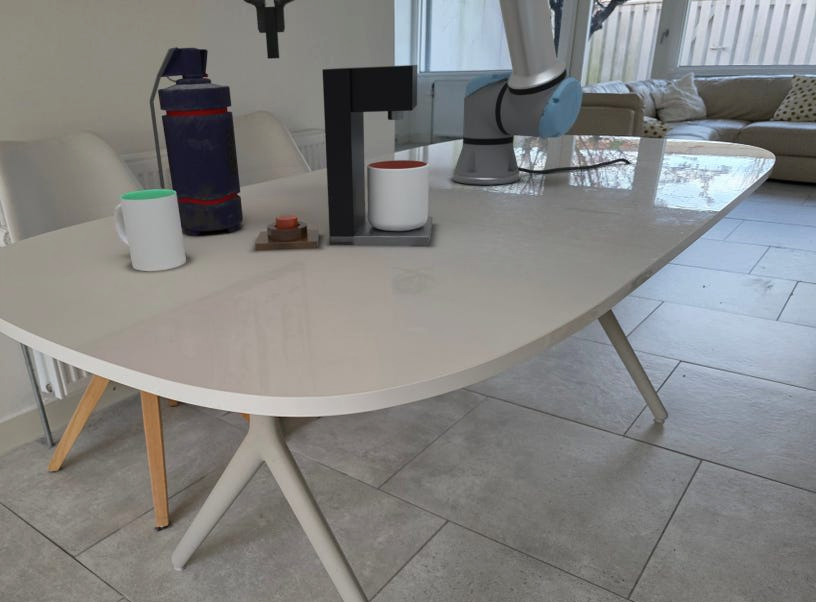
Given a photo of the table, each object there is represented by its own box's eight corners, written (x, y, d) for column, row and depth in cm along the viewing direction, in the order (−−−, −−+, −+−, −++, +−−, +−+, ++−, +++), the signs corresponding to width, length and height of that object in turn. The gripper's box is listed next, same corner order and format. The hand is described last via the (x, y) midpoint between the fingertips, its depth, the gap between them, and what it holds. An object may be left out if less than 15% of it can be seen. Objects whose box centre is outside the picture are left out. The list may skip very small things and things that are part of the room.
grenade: (238, 218, 121) (220, 47, 108) (248, 232, 111) (230, 44, 98) (166, 226, 118) (138, 50, 105) (169, 241, 107) (139, 47, 94)
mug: (102, 264, 96) (88, 196, 91) (140, 251, 102) (129, 186, 98) (160, 273, 90) (148, 201, 86) (197, 258, 97) (187, 190, 92)
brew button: (298, 224, 104) (298, 214, 103) (297, 230, 100) (296, 219, 100) (277, 225, 104) (276, 215, 103) (275, 230, 100) (274, 220, 100)
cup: (430, 232, 100) (432, 168, 96) (369, 234, 100) (368, 170, 96) (424, 218, 109) (425, 159, 105) (367, 220, 109) (366, 161, 105)
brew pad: (319, 236, 107) (318, 218, 105) (317, 248, 99) (316, 230, 98) (261, 238, 107) (259, 220, 106) (255, 250, 100) (253, 232, 98)
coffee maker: (432, 225, 111) (436, 63, 99) (428, 245, 98) (433, 64, 87) (343, 224, 113) (338, 68, 102) (329, 245, 101) (322, 69, 90)
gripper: (204, -150, 78) (225, 59, 88) (308, -154, 77) (317, 56, 88) (215, -132, 84) (233, 60, 95) (310, -136, 84) (318, 57, 94)
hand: (273, 58), depth 91 cm, fingers closed
